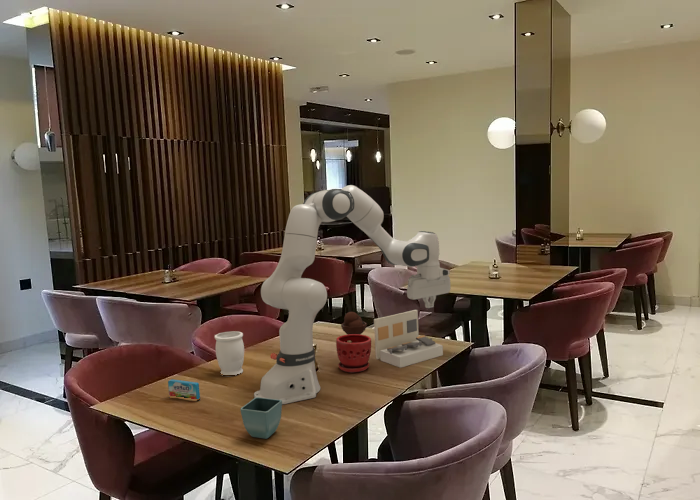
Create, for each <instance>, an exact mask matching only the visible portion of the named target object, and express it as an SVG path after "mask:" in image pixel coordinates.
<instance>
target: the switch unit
mask: <svg viewBox="0 0 700 500" xmlns="http://www.w3.org/2000/svg"><path fill="white" fill-rule="evenodd" d="M418 311H419V310H418V309H413V310H409V311H405V312H400V313H396V314H391V315H387V316H383V317H378V318H374V319H373V326H374V327H373V328H374V329H373V330H374V345H375V347H374V348H375V351H374V352H375V360H380V361H381V362H383V363H386V364H388V365H389V364H390V365H391V366H395V367H397V368H399V369H402V368H406V367H407V366H411V365H415V364H418V363H421V362H425V361H427V360H431V359H435V358H439V357H441V356H443V355H444V347H443V346H444V345H443V344H439V343H436V342H435V344H433V345H430V346H427V345H425V344H423V343H422V342H421V341H418V340H416V337H419V336H420V335H419V316H418ZM429 339H431V340H433V338H429ZM407 342H418V343H421V345H418V346H415V347H408V346H407V345H404V346H406V349H402V350H395V351H392V349H390V351H387V348H390V347H394V346H402V344H403V343H407Z"/></svg>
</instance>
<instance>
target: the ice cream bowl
mask: <svg viewBox="0 0 700 500" xmlns="http://www.w3.org/2000/svg"><path fill="white" fill-rule="evenodd" d="M343 320H344V321H343V323H341V324H340V326H341V327H340V328H341V329H342V331H343V332H344V333H345V335H349V334H360V335H363V333H364V332H365V331H366V329H367V324H368V323H367V322H365V321H363V319H362V317H361V316H360V315H358V314H357V312H354V311H349V312H346V314H345V315H344V318H343ZM350 343H352V341H350ZM355 343H357V342H355Z"/></svg>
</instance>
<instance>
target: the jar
mask: <svg viewBox="0 0 700 500" xmlns="http://www.w3.org/2000/svg"><path fill="white" fill-rule="evenodd" d="M243 337H244V333H243V332H241V331H236V330H235V331H234V330H233V331H224V332H219V333H217V334H214V339H215V340H216V342H215V356H216V359H217V364H218V367H219V368H220V370H221V371H220V373H221V374H223V375H235V376H238V375H237V374H239V375H241V374H242V373H243V372H244V369H243V368H242V367H243V364H244V356H245V346H244V345H245V343H244V341H243ZM240 373H241V374H240ZM221 374H220V375H221ZM223 375H222V376H223Z"/></svg>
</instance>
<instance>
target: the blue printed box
mask: <svg viewBox="0 0 700 500" xmlns="http://www.w3.org/2000/svg"><path fill="white" fill-rule="evenodd" d="M167 385H168V386H167V387H168V396H169V395H170V396H176V397H184V398H191V399H199V398H200V399H201V392H200V383H199V382H196V381H188V380H181V379H180V380H179V379H173V378H172V379H169V380H168V381H167Z"/></svg>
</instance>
